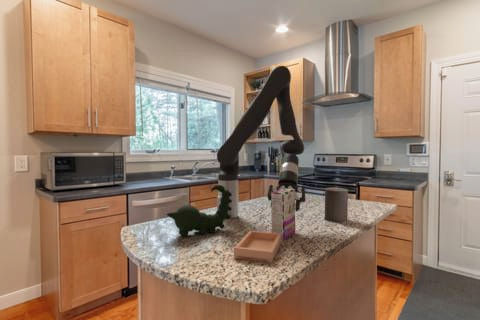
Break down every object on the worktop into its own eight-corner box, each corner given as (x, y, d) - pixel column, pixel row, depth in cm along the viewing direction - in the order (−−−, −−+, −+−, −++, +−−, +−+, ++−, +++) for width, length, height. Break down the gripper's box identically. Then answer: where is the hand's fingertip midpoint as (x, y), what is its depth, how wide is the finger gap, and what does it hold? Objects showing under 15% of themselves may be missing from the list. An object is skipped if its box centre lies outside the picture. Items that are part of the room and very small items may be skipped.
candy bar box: (283, 230, 102) (283, 188, 101) (295, 232, 99) (295, 189, 98) (270, 238, 92) (270, 192, 92) (284, 241, 89) (283, 193, 89)
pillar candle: (320, 220, 117) (321, 186, 116) (329, 215, 124) (329, 184, 124) (343, 224, 111) (344, 188, 110) (350, 219, 118) (351, 185, 117)
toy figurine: (222, 229, 109) (161, 234, 96) (225, 183, 109) (165, 182, 96) (233, 235, 101) (168, 241, 88) (237, 186, 101) (173, 185, 88)
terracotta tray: (233, 258, 75) (233, 247, 75) (250, 239, 92) (249, 230, 91) (272, 262, 72) (272, 252, 72) (281, 242, 88) (281, 233, 88)
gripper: (270, 169, 108) (264, 202, 97) (306, 170, 103) (304, 204, 93) (272, 181, 113) (267, 213, 102) (306, 182, 109) (305, 216, 98)
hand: (284, 209), depth 98 cm, fingers open, 8 cm apart
